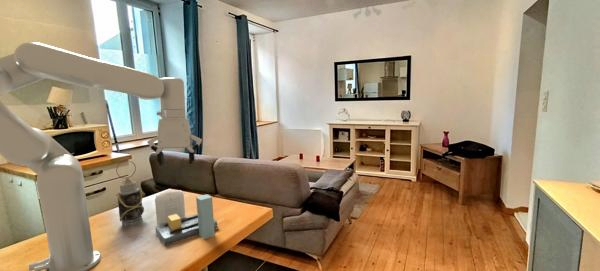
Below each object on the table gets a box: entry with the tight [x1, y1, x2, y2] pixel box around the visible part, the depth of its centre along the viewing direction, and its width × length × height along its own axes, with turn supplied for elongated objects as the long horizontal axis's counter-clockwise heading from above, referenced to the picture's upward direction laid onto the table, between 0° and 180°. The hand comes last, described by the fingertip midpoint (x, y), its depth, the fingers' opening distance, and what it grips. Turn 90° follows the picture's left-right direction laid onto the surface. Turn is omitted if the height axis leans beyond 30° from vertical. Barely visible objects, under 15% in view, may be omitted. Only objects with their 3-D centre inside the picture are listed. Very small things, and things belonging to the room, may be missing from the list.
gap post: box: [195, 193, 216, 240], centre depth 96 cm, size 4×4×14 cm
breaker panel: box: [155, 213, 219, 247], centre depth 100 cm, size 18×12×3 cm, turn 130°
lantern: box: [115, 159, 145, 228], centre depth 105 cm, size 9×8×25 cm
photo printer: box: [154, 189, 186, 226], centre depth 108 cm, size 10×4×12 cm, turn 123°
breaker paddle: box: [168, 214, 182, 230], centre depth 97 cm, size 3×5×4 cm, turn 40°
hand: (176, 163), depth 96 cm, fingers open, 9 cm apart
